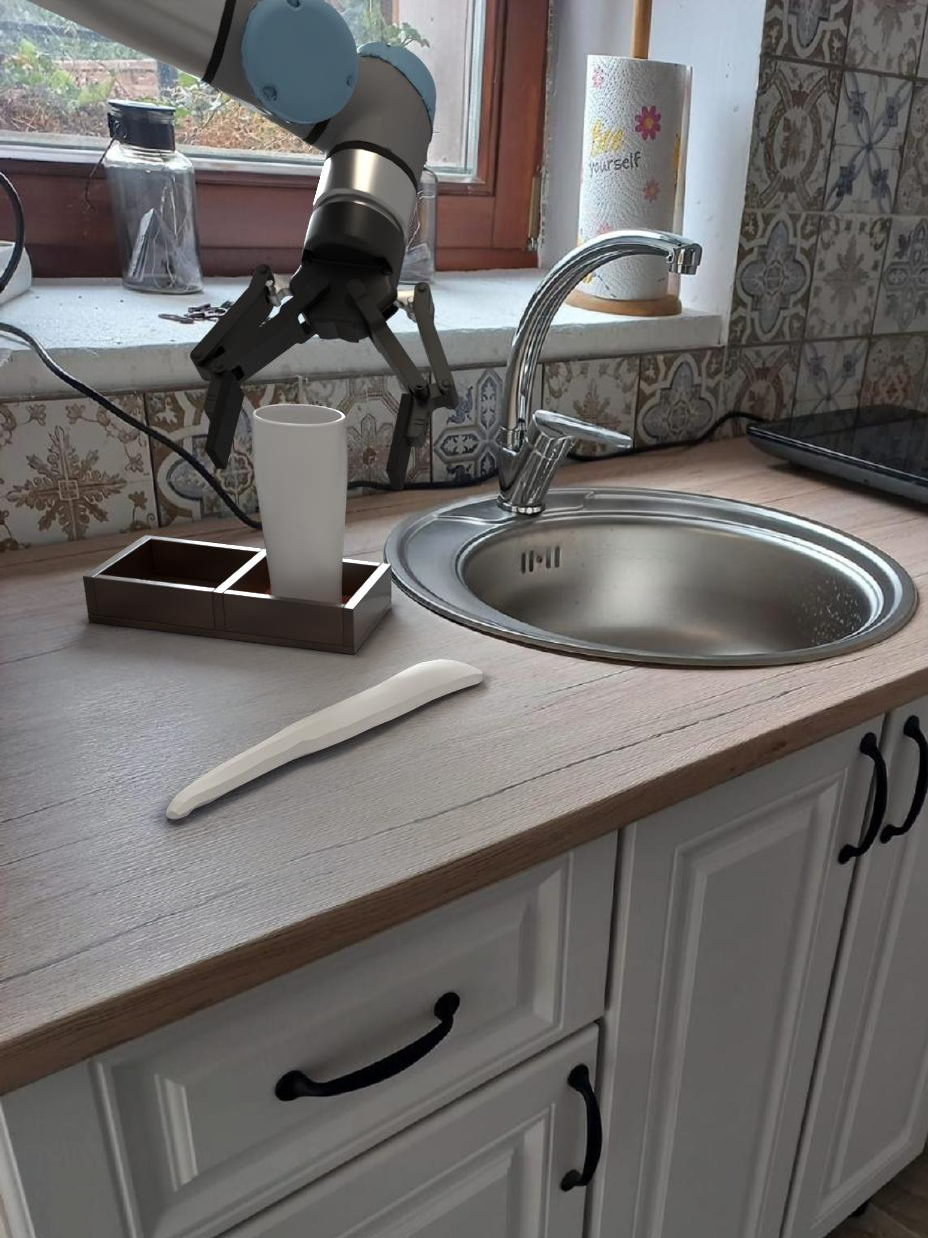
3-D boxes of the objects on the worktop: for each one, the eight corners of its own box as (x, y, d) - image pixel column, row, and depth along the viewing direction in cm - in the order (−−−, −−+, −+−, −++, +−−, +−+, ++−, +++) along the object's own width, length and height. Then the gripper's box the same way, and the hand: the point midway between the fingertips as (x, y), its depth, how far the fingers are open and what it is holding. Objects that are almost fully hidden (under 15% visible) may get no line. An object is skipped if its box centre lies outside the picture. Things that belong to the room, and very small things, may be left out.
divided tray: (88, 622, 93) (82, 575, 91) (149, 577, 102) (144, 534, 100) (354, 654, 92) (353, 608, 90) (391, 606, 101) (391, 564, 99)
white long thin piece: (187, 826, 69) (180, 786, 68) (137, 812, 71) (128, 773, 70) (490, 685, 90) (487, 653, 89) (444, 677, 92) (441, 645, 91)
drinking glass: (308, 634, 93) (299, 429, 85) (243, 611, 95) (229, 411, 88) (369, 611, 98) (366, 416, 90) (306, 589, 101) (298, 399, 93)
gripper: (520, 281, 100) (476, 515, 95) (220, 248, 101) (160, 477, 96) (510, 213, 93) (462, 461, 88) (188, 178, 94) (121, 421, 89)
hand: (304, 470), depth 92 cm, fingers open, 13 cm apart
